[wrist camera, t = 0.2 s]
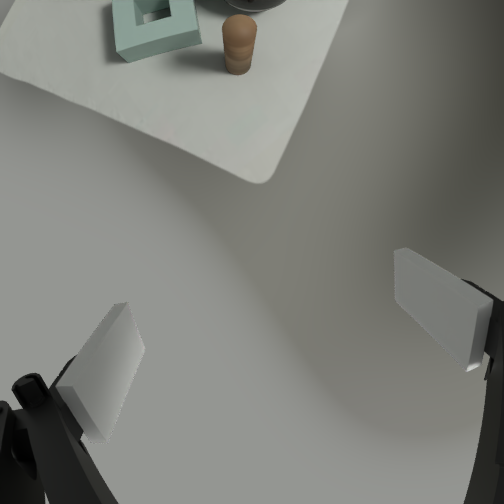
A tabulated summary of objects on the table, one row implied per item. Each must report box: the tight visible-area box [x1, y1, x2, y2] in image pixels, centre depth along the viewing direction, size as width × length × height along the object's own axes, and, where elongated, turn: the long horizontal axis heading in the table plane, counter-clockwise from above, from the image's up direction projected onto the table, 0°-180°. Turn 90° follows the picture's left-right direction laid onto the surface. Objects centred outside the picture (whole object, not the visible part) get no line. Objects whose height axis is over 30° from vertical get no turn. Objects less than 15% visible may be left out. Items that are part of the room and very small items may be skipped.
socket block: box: [112, 0, 202, 63], centre depth 31 cm, size 10×10×5 cm
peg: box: [222, 14, 257, 75], centre depth 30 cm, size 3×3×12 cm
